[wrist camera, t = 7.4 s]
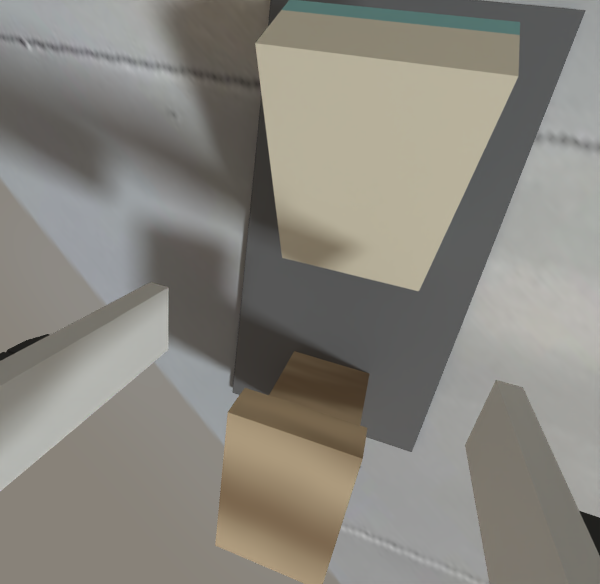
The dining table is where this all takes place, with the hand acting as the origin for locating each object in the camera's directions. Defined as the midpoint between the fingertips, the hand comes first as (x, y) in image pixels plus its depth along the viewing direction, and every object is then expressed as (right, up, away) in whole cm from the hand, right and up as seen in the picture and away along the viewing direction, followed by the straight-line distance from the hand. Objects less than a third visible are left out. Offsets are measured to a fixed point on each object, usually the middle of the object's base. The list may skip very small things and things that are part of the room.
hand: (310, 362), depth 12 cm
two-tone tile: (+2, +6, +1) cm, 6 cm away
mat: (+3, +4, +8) cm, 10 cm away
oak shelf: (+2, -3, +11) cm, 12 cm away
